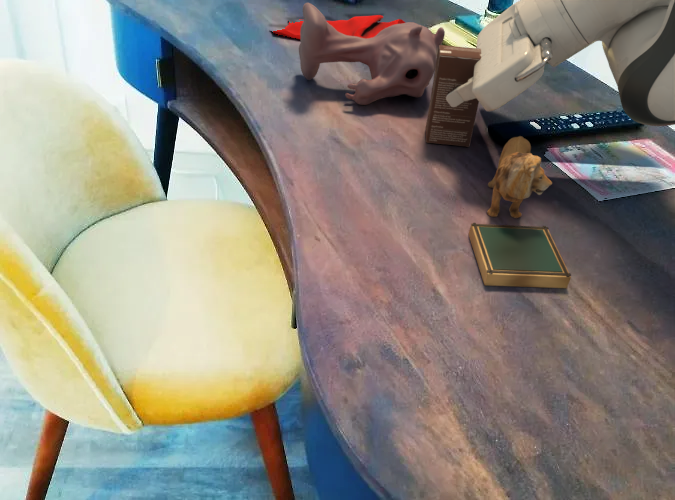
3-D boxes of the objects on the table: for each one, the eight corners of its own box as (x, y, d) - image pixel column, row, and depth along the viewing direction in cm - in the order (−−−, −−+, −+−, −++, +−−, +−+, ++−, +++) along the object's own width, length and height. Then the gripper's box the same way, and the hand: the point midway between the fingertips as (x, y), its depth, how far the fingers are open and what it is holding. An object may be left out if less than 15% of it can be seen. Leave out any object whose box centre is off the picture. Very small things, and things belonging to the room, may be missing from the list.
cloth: (273, 47, 108) (273, 34, 107) (266, 19, 119) (266, 6, 117) (422, 48, 113) (424, 35, 112) (402, 21, 124) (404, 9, 122)
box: (467, 132, 89) (486, 47, 82) (469, 148, 86) (489, 61, 78) (423, 128, 89) (438, 42, 82) (424, 143, 86) (439, 55, 78)
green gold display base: (543, 237, 71) (547, 225, 70) (567, 288, 64) (571, 276, 63) (468, 234, 70) (471, 222, 69) (484, 285, 64) (487, 273, 63)
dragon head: (314, 78, 84) (461, 65, 87) (299, -8, 87) (440, -18, 90) (307, 128, 97) (434, 115, 100) (294, 50, 100) (417, 40, 103)
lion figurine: (537, 240, 70) (560, 168, 65) (488, 234, 71) (507, 162, 65) (520, 170, 82) (539, 105, 76) (478, 166, 82) (494, 100, 77)
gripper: (568, 82, 69) (459, 147, 76) (556, 21, 85) (467, 80, 92) (537, 35, 67) (428, 106, 74) (531, -19, 83) (442, 45, 90)
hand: (450, 91), depth 83 cm, fingers closed on box, 4 cm apart
